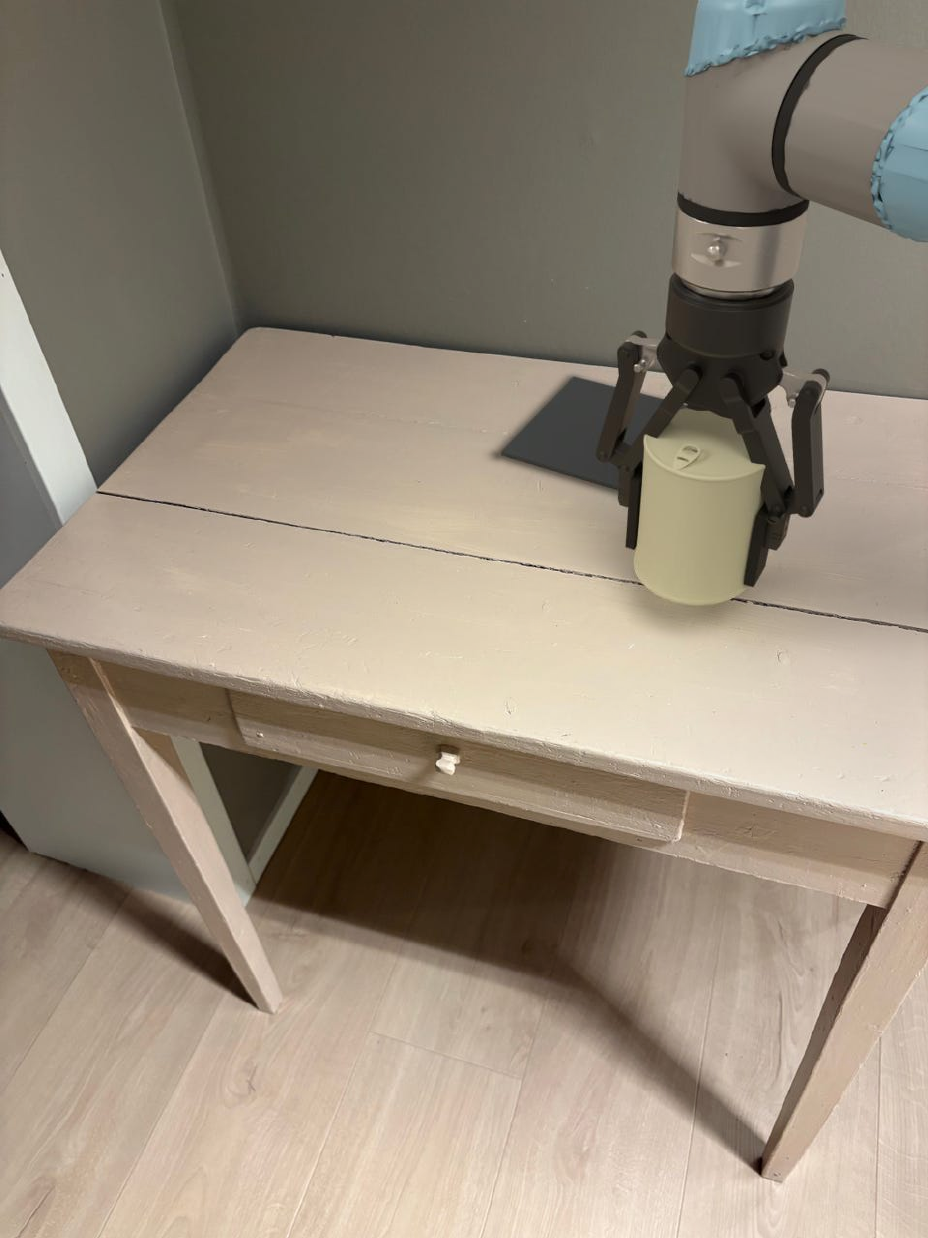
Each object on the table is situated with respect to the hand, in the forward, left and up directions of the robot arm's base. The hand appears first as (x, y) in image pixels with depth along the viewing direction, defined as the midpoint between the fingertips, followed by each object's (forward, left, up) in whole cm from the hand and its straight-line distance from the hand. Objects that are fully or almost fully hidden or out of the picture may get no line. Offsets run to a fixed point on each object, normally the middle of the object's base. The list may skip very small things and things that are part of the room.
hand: (694, 556), depth 74 cm
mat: (+14, -20, -6) cm, 25 cm away
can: (0, 0, -1) cm, 1 cm away
